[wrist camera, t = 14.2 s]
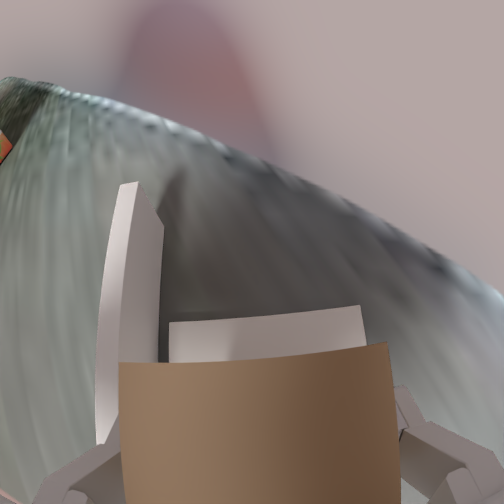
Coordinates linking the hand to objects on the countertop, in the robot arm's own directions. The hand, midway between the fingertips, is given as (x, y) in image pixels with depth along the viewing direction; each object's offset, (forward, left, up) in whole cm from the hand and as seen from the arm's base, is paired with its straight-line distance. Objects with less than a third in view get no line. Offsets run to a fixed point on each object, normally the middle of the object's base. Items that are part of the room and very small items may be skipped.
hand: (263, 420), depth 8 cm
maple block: (0, -1, -6) cm, 6 cm away
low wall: (-7, 0, -8) cm, 11 cm away
